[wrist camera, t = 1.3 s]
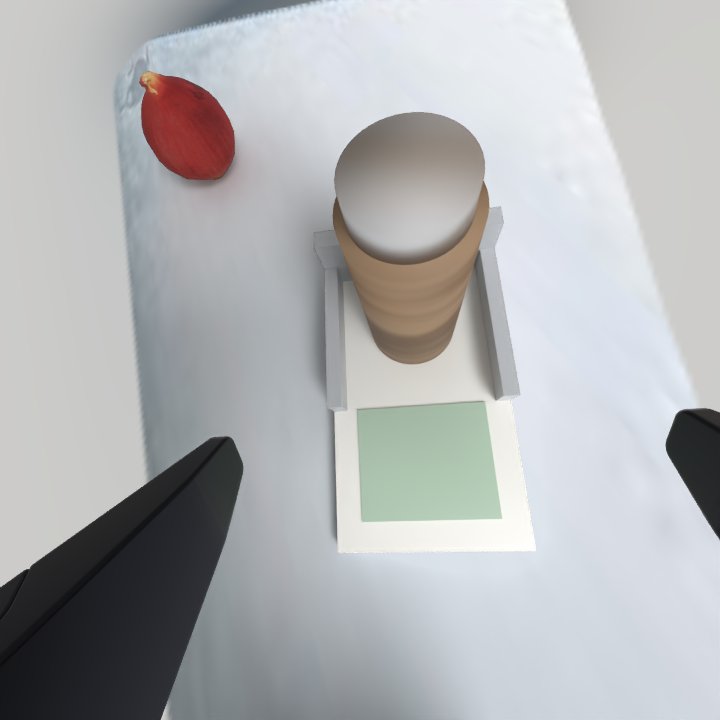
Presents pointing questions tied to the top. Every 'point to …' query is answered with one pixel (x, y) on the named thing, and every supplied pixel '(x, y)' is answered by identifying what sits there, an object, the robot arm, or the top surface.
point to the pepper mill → (411, 228)
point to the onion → (186, 127)
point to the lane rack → (426, 424)
